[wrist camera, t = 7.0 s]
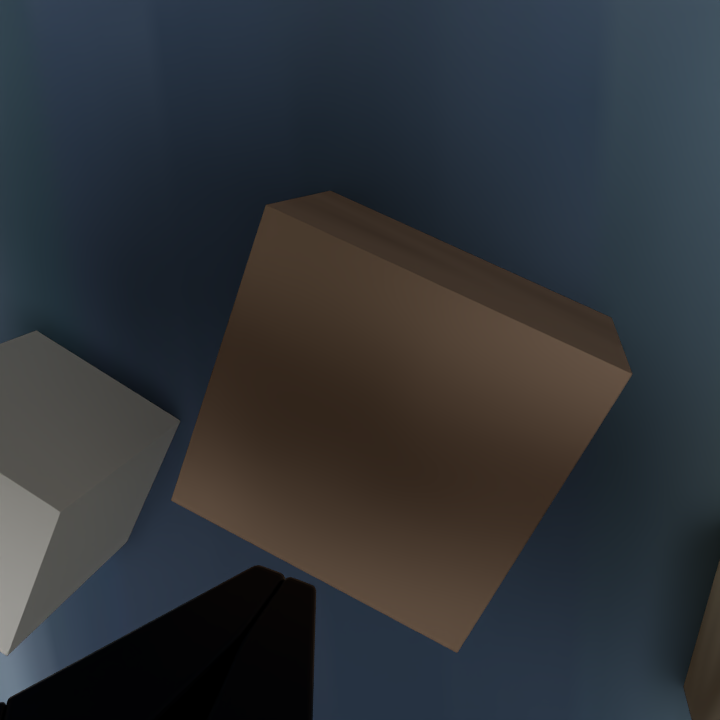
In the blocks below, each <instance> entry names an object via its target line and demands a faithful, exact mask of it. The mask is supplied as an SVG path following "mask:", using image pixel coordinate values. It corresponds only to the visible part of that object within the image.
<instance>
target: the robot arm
mask: <svg viewBox="0 0 720 720" xmlns="http://www.w3.org/2000/svg"><path fill="white" fill-rule="evenodd" d="M315 612H316V589H315V587H314V586H313V585H311V584H308V583H306V582H303V581H300V580H298V579H295V578H292V577H289V578H286V579H285V577H284V575H283V574H281V573H279V572H277V571H274V570H271V569H269V568H266V567H263V566H260V565H257V566H253V567H251V568H249V569H247V570H246V571H244V572H242V573H240V574H238V575H236V576H234V577H233V578H231V579H229V580H227V581H225V582H223V583H221V584H220V585H218V586H216V587H214V588H212V589H210V590H208V591H207V592H205V593H203V594H201V595H199V596H197V597H195V598H194V599H192V600H190V601H188V602H186V603H184V604H182V605H181V606H179V607H177V608H175V609H173V610H171V611H169V612H168V613H166V614H164V615H162V616H160V617H158V618H156V619H155V620H153V621H151V622H149V623H147V624H145V625H143V626H142V627H140V628H138V629H136V630H134V631H132V632H130V633H129V634H127V635H125V636H123V637H121V638H119V639H117V640H116V641H114V642H112V643H110V644H108V645H106V646H104V647H103V648H101V649H99V650H97V651H95V652H93V653H91V654H90V655H88V656H86V657H84V658H82V659H80V660H78V661H77V662H75V663H73V664H71V665H69V666H67V667H65V668H64V669H62V670H60V671H58V672H56V673H54V674H52V675H51V676H49V677H47V678H45V679H43V680H41V681H39V682H38V683H36V684H34V685H32V686H30V687H28V688H26V689H25V690H23V691H21V692H19V693H17V694H15V695H13V696H12V697H10V698H9V699H8V701H7V704H5V703H4V702H0V720H313V686H314V649H315Z"/></svg>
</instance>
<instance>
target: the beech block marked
mask: <svg viewBox="0 0 720 720" xmlns="http://www.w3.org/2000/svg"><path fill="white" fill-rule="evenodd" d="M684 691H685V695H686V699H687V703H688V707H689V711H690V715H691V719H692V720H720V560H719V564H718V567H717V571H716V574H715V578H714V581H713V585H712V588H711V592H710V595H709V599H708V602H707V606H706V609H705V613H704V616H703V620H702V623H701V627H700V630H699V634H698V638H697V641H696V645H695V648H694V652H693V655H692V659H691V662H690V666H689V669H688V673H687V676H686V680H685V683H684Z"/></svg>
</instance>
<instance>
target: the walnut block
mask: <svg viewBox="0 0 720 720" xmlns="http://www.w3.org/2000/svg"><path fill="white" fill-rule="evenodd" d="M631 376H632V372H631V369H630V366H629V364H628V361H627V358H626V355H625V353H624V350H623V347H622V345H621V342H620V339H619V336H618V334H617V331H616V328H615V326H614V323H613V320H612V318H611V317H609V316H607V315H604V314H602V313H600V312H598V311H595V310H593V309H591V308H589V307H587V306H584V305H582V304H580V303H578V302H576V301H573V300H571V299H569V298H567V297H565V296H562V295H560V294H558V293H556V292H553V291H551V290H549V289H547V288H545V287H542V286H540V285H538V284H536V283H534V282H531V281H529V280H527V279H525V278H522V277H520V276H518V275H516V274H514V273H511V272H509V271H507V270H505V269H503V268H500V267H498V266H496V265H494V264H492V263H489V262H487V261H485V260H483V259H480V258H478V257H476V256H474V255H472V254H469V253H467V252H465V251H463V250H461V249H458V248H456V247H454V246H452V245H450V244H447V243H445V242H443V241H441V240H438V239H436V238H434V237H432V236H430V235H427V234H425V233H423V232H421V231H419V230H416V229H414V228H412V227H410V226H408V225H405V224H403V223H401V222H399V221H396V220H394V219H392V218H390V217H388V216H385V215H383V214H381V213H379V212H377V211H374V210H372V209H370V208H368V207H366V206H363V205H361V204H359V203H357V202H354V201H352V200H350V199H348V198H346V197H343V196H341V195H339V194H337V193H335V192H332V191H326V192H322V193H317V194H313V195H308V196H304V197H299V198H295V199H290V200H286V201H281V202H276V203H272V204H267V205H266V206H265V209H264V212H263V215H262V218H261V222H260V225H259V228H258V231H257V234H256V237H255V240H254V243H253V246H252V250H251V253H250V256H249V259H248V262H247V265H246V268H245V271H244V275H243V278H242V281H241V284H240V287H239V290H238V293H237V296H236V299H235V303H234V306H233V309H232V312H231V315H230V318H229V321H228V324H227V328H226V331H225V334H224V337H223V340H222V343H221V346H220V349H219V353H218V356H217V359H216V362H215V365H214V368H213V371H212V374H211V377H210V381H209V384H208V387H207V390H206V393H205V396H204V399H203V402H202V406H201V409H200V412H199V415H198V418H197V421H196V424H195V427H194V430H193V434H192V437H191V440H190V443H189V446H188V449H187V452H186V455H185V459H184V462H183V465H182V468H181V471H180V474H179V477H178V480H177V483H176V487H175V490H174V493H173V496H172V499H171V501H173V502H175V503H177V504H179V505H181V506H182V507H184V508H186V509H188V510H190V511H192V512H194V513H196V514H197V515H199V516H201V517H203V518H205V519H207V520H209V521H211V522H212V523H214V524H216V525H218V526H220V527H222V528H224V529H226V530H227V531H229V532H231V533H233V534H235V535H237V536H239V537H241V538H242V539H244V540H246V541H248V542H250V543H252V544H254V545H256V546H258V547H259V548H261V549H263V550H265V551H267V552H269V553H271V554H273V555H274V556H276V557H278V558H280V559H282V560H284V561H286V562H288V563H289V564H291V565H293V566H295V567H297V568H299V569H301V570H303V571H304V572H306V573H308V574H310V575H312V576H314V577H316V578H318V579H319V580H321V581H323V582H325V583H327V584H329V585H331V586H333V587H334V588H336V589H338V590H340V591H342V592H344V593H346V594H348V595H349V596H351V597H353V598H355V599H357V600H359V601H361V602H363V603H364V604H366V605H368V606H370V607H372V608H374V609H376V610H378V611H380V612H381V613H383V614H385V615H387V616H389V617H391V618H393V619H395V620H396V621H398V622H400V623H402V624H404V625H406V626H408V627H410V628H411V629H413V630H415V631H417V632H419V633H421V634H423V635H425V636H426V637H428V638H430V639H432V640H434V641H436V642H438V643H440V644H441V645H443V646H445V647H447V648H449V649H451V650H453V651H455V652H456V653H457V652H458V651H459V649H460V648H461V646H462V644H463V643H464V641H465V640H466V638H467V636H468V635H469V633H470V632H471V630H472V629H473V627H474V625H475V624H476V622H477V621H478V619H479V617H480V616H481V614H482V613H483V611H484V609H485V608H486V606H487V605H488V603H489V601H490V600H491V598H492V597H493V595H494V594H495V592H496V590H497V589H498V587H499V586H500V584H501V582H502V581H503V579H504V578H505V576H506V574H507V573H508V571H509V570H510V568H511V566H512V565H513V563H514V562H515V560H516V559H517V557H518V555H519V554H520V552H521V551H522V549H523V547H524V546H525V544H526V543H527V541H528V539H529V538H530V536H531V535H532V533H533V531H534V530H535V528H536V527H537V525H538V523H539V522H540V520H541V519H542V517H543V516H544V514H545V512H546V511H547V509H548V508H549V506H550V504H551V503H552V501H553V500H554V498H555V496H556V495H557V493H558V492H559V490H560V488H561V487H562V485H563V484H564V482H565V481H566V479H567V477H568V476H569V474H570V473H571V471H572V469H573V468H574V466H575V465H576V463H577V461H578V460H579V458H580V457H581V455H582V453H583V452H584V450H585V449H586V447H587V446H588V444H589V442H590V441H591V439H592V438H593V436H594V434H595V433H596V431H597V430H598V428H599V426H600V425H601V423H602V422H603V420H604V418H605V417H606V415H607V414H608V412H609V411H610V409H611V407H612V406H613V404H614V403H615V401H616V399H617V398H618V396H619V395H620V393H621V391H622V390H623V388H624V387H625V385H626V383H627V382H628V380H629V379H630V377H631Z"/></svg>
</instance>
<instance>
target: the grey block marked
mask: <svg viewBox="0 0 720 720" xmlns="http://www.w3.org/2000/svg"><path fill="white" fill-rule="evenodd" d="M179 423H180V420H178V419H177V418H175V417H174V416H172V415H170V414H169V413H167V412H166V411H164V410H162V409H161V408H159V407H158V406H156V405H154V404H153V403H151V402H150V401H148V400H147V399H145V398H143V397H142V396H140V395H139V394H137V393H135V392H134V391H132V390H131V389H129V388H127V387H126V386H124V385H123V384H121V383H119V382H118V381H116V380H115V379H113V378H111V377H110V376H108V375H107V374H105V373H103V372H102V371H100V370H99V369H97V368H95V367H94V366H92V365H91V364H89V363H87V362H86V361H84V360H83V359H81V358H79V357H78V356H76V355H75V354H73V353H71V352H70V351H68V350H67V349H65V348H64V347H62V346H60V345H59V344H57V343H56V342H54V341H52V340H51V339H49V338H48V337H46V336H44V335H43V334H41V333H40V332H38V331H34V332H31V333H28V334H25V335H23V336H20V337H17V338H15V339H12V340H9V341H6V342H4V343H1V344H0V652H2V653H3V654H5V655H6V656H8V655H9V654H10V653H11V652H12V651H13V650H14V649H15V648H16V647H17V646H18V645H19V644H20V643H21V642H22V641H23V640H24V639H25V638H27V637H28V636H29V635H30V634H31V633H32V632H33V631H34V630H35V629H36V628H37V627H38V626H39V625H40V624H41V623H42V622H43V621H44V620H45V619H46V618H47V617H49V616H50V615H51V614H52V613H53V612H54V611H55V610H56V609H57V608H58V607H59V606H60V605H61V604H62V603H63V602H64V601H65V600H66V599H67V598H68V597H70V596H71V595H72V594H73V593H74V592H75V591H76V590H77V589H78V588H79V587H80V586H81V585H82V584H83V583H84V582H85V581H86V580H87V579H88V578H89V577H90V576H92V575H93V574H94V573H95V572H96V571H97V570H98V569H99V568H100V567H101V566H102V565H103V564H104V563H105V562H106V561H107V560H108V559H109V558H110V557H111V556H113V555H114V554H115V553H116V552H117V551H118V550H119V549H120V548H121V547H122V546H123V545H124V544H125V543H126V542H127V541H128V538H129V536H130V534H131V532H132V529H133V527H134V525H135V523H136V520H137V518H138V516H139V514H140V511H141V509H142V507H143V504H144V502H145V500H146V498H147V495H148V493H149V491H150V489H151V486H152V484H153V482H154V480H155V477H156V475H157V473H158V471H159V468H160V466H161V464H162V462H163V459H164V457H165V455H166V452H167V450H168V448H169V446H170V443H171V441H172V439H173V437H174V434H175V432H176V430H177V428H178V425H179Z"/></svg>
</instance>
